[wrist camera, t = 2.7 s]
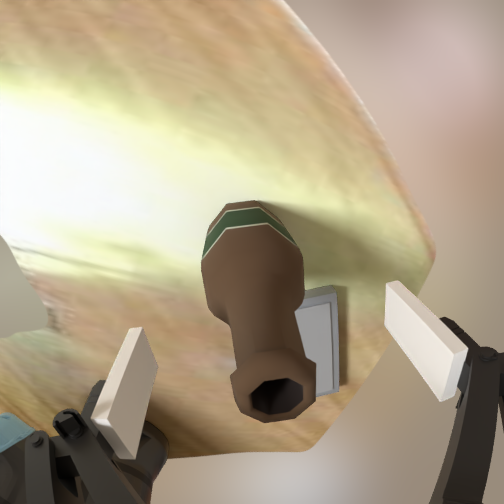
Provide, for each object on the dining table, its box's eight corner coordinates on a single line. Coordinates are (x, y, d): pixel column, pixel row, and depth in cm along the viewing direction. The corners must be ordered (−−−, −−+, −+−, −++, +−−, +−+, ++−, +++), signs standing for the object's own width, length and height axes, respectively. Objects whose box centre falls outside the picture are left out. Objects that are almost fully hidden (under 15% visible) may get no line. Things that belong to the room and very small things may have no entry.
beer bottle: (218, 189, 32) (198, 293, 10) (290, 208, 34) (404, 334, 11) (200, 258, 35) (167, 440, 12) (268, 274, 36) (325, 456, 13)
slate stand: (253, 399, 42) (254, 410, 40) (230, 304, 37) (231, 314, 35) (335, 382, 42) (339, 392, 40) (331, 285, 37) (337, 293, 35)
